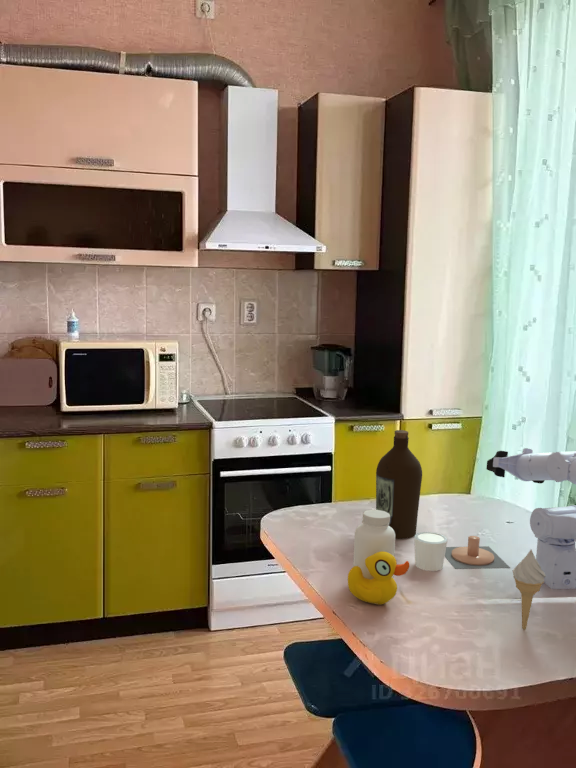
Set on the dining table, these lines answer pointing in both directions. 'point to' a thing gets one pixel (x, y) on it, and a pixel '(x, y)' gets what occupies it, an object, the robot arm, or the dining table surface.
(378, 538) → the pill bottle
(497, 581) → the dining table surface
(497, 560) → the mat
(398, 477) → the olive oil
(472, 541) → the lid
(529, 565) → the ice cream cone
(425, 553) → the white cup
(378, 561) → the duckling
